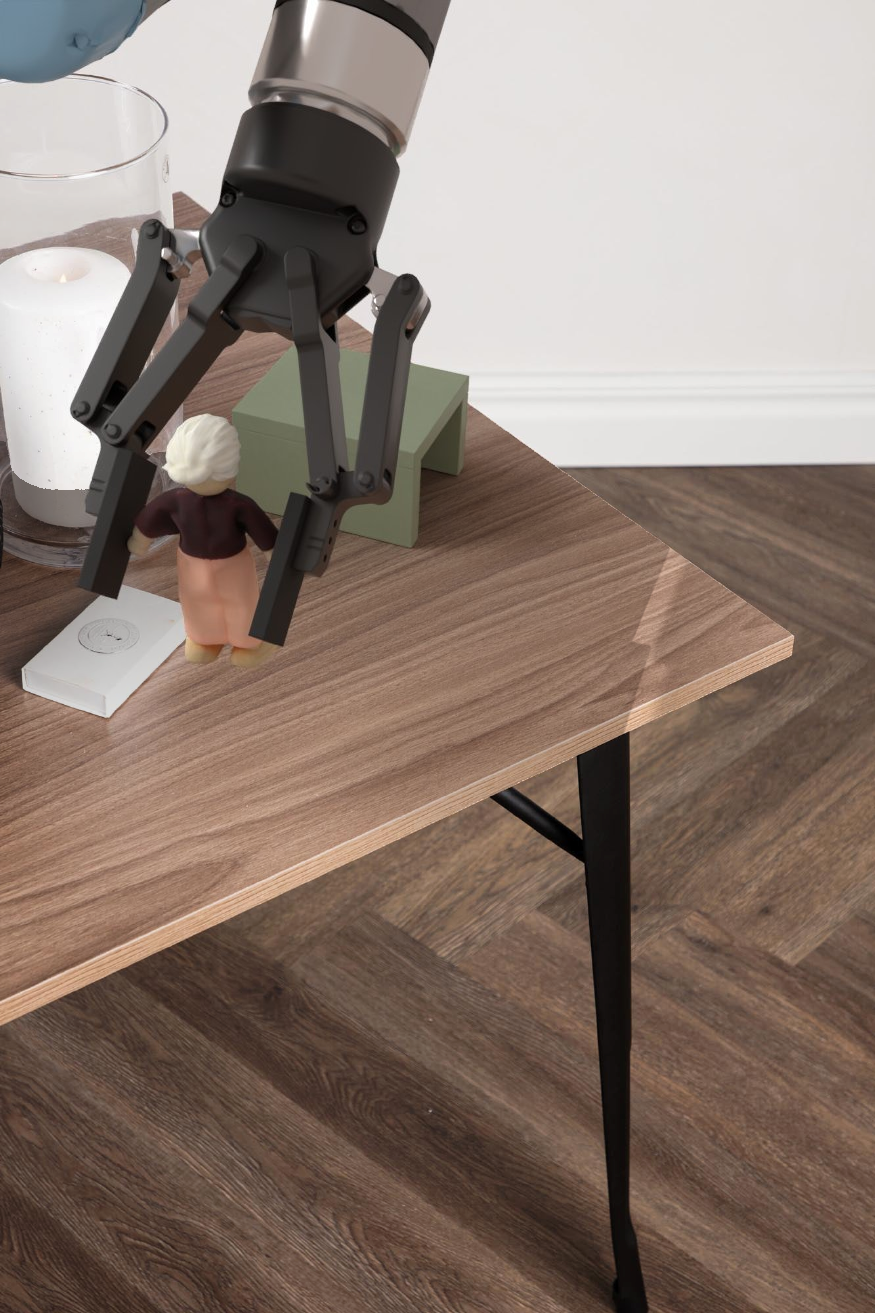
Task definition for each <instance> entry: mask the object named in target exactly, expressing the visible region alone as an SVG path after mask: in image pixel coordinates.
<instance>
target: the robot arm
mask: <svg viewBox="0 0 875 1313" xmlns="http://www.w3.org/2000/svg"><path fill="white" fill-rule="evenodd" d="M170 1H171V0H0V79H3V80H7V81H10V82H15V83H18V84H19V83H20V84H46V83H50V82H54V81H58V80H61V79H64V78H67V77H69V76H70V75H72V74H74V73H76V72H78V71H80V70H81V69H83V68H85V67H87V66H89V65H91V64H93V63H95V62H98V61H100V60H102V59H103V58H105V57H106V56H109V55H111V54H113V53H115V52H116V51H117V50H118V49H119V48H120V47H121V45H122V44H124V43H125V41H126V40H127V39H129V38H131V37H132V36H133V35H134V33H135V32H136V31H137V29H138V27H139V26H141V25H142V24H143V23H144V22H145V21H147V19H149V18H150V17H151V16H152V15H153V14H154V13H155V12H156V11H157V10H158V9H160V8H161V7H163V6H164V5H166V4H168V3H169V2H170ZM451 2H452V0H276V1H275V4H274V6H273V11H272V14H271V19H270V23H269V26H268V29H267V32H266V35H265V38H264V42H263V45H262V47H261V51H260V54H259V57H258V60H257V63H256V66H255V69H254V72H253V75H252V79H251V82H250V85H249V88H248V91H247V99H248V102H249V103H250V106H251V107H250V108H248V109H246V110H245V111H244V112H243V113H242V115H241V116H240V119H239V123H238V126H237V129H236V133H235V135H234V139H233V142H232V146H231V149H230V153H229V156H228V159H227V163H226V165H225V169H224V172H223V175H222V180H221V188H220V193H219V198H218V199H219V200H218V203H217V205H216V207H215V208H214V210H213V211H212V212H211V214H210V215H209V216H208V217H207V218H206V219H205V221H204V222H203V223H202V224H201V226H200V228H169V227H167V226H166V225H165V224H164V223H163V221H161V220H159V219H157V218H149V219H147V220H145V221H144V222H143V223H142V224H141V226H140V228H139V231H138V232H139V233H138V240H137V248H136V249H137V250H136V256H135V266H134V268H133V271H132V273H131V275H130V277H129V279H128V281H127V284H126V285H125V288H124V290H123V292H122V294H121V296H120V299H119V301H118V303H117V305H116V306H115V309H114V312H113V313H112V316H111V317H110V320H109V322H108V324H107V326H106V329H105V331H104V333H103V335H102V337H101V338H100V341H99V343H98V346H97V348H96V350H95V351H94V353H93V356H92V359H91V360H90V363H89V364H88V367H87V369H86V371H85V373H84V375H83V378H82V379H81V382H80V384H79V387H78V388H77V389H76V393H75V394H74V397H73V398H72V401H71V403H70V407H69V412H70V416H71V417H72V419H74V420H75V421H77V422H78V423H79V424H81V425H83V426H84V427H85V428H86V429H88V430H89V431H90V432H92V433H93V434H94V435H95V436H96V437H97V438H98V440H99V444H100V449H99V454H98V457H97V460H96V463H95V466H94V469H93V472H92V476H91V480H90V483H89V486H88V489H87V492H86V496H85V499H84V504H85V505H84V506H85V513H86V514H88V515H91V516H93V517H95V518H96V520H95V524H94V527H93V530H92V533H91V537H90V540H89V543H88V546H87V550H86V554H85V557H84V561H83V563H82V566H81V570H80V574H79V577H78V580H77V582H76V588H79V589H80V590H81V589H82V590H83V591H87V592H90V593H93V594H96V595H99V596H102V597H105V598H108V599H113V600H116V601H118V598H119V595H120V591H121V589H122V585H123V582H124V579H125V575H126V572H127V569H128V565H129V562H130V558H131V555H132V553H131V552H130V551H129V550H128V547H127V542H128V540H129V538H130V537H131V536H132V535H133V529H134V527H135V523H134V517H135V516H136V515H137V514H138V513H139V512H140V511H141V510H142V509H143V508H144V507H145V506H146V505H147V504H148V503H147V502H148V499H149V496H150V492H151V490H152V486H153V482H154V479H155V476H156V473H157V469H158V465H157V464H156V463H154V462H152V461H151V460H149V459H150V458H151V457H152V456H151V455H150V454H149V453H148V452H147V450H148V448H150V446H151V445H152V443H153V442H154V441H155V440H156V438H157V437H158V436H159V434H160V433H161V432H162V431H163V430H164V428H165V426H167V424H168V423H169V421H170V420H171V419H172V418H173V417H174V415H175V414H176V412H177V411H178V410H179V408H180V407H181V406H182V405H183V403H184V402H185V400H187V398H188V397H189V395H190V394H191V393H192V391H193V390H194V389H195V388H196V386H197V385H198V384H199V382H200V381H201V380H202V378H203V377H204V376H205V375H206V373H207V372H208V371H209V370H210V368H211V367H212V366H213V364H214V363H215V362H216V360H217V359H218V358H219V356H220V355H221V354H222V353H223V351H224V350H225V349H226V348H228V347H232V346H233V345H235V343H237V341H238V340H239V339H240V338H241V337H242V335H243V334H244V332H245V331H247V332H252V333H255V334H265V333H267V334H268V333H275V334H277V335H278V336H280V337H282V338H284V339H285V340H288V341H290V342H293V344H294V343H295V346H296V349H297V353H298V363H299V374H300V384H301V394H302V405H303V415H304V425H305V436H306V446H307V456H308V467H309V477H310V484H309V483H308V482H307V483H306V487H307V489H308V490H309V491H310V492H311V493H312V494H311V497H310V498H309V497H308V496H306V495H302V494H298V493H294V492H290V495H289V498H288V502H287V505H286V509H285V512H284V515H283V516H282V519H281V522H280V525H279V529H278V530H279V532H278V536H277V539H276V542H275V546H274V549H273V552H272V556H271V559H270V563H269V562H268V566H267V570H266V573H265V576H264V579H263V580H264V581H263V584H262V586H261V590H260V593H259V600H258V603H257V607H256V610H255V613H254V617H253V620H252V623H251V627H250V630H249V634H248V636H251V637H254V638H256V639H259V640H262V641H265V642H267V643H271V644H274V645H278V646H277V647H281V648H284V646H285V642H286V639H287V636H288V634H289V633H288V632H289V629H290V626H291V622H292V619H293V616H294V612H295V609H296V605H297V602H298V598H299V596H300V592H301V589H302V584H303V582H304V579H305V576H310V577H315V578H319V579H321V578H322V576H323V575H324V574H325V572H326V571H327V570H328V569H329V568H328V567H329V564H330V561H331V557H332V555H333V551H334V546H335V544H336V540H337V537H338V534H339V531H340V530H339V527H340V524H341V520H342V518H343V515H344V514H345V512H346V511H347V510H348V509H349V508H351V507H353V506H356V505H364V504H375V505H384V504H386V503H388V502H389V500H390V499H391V498H392V495H393V489H394V482H395V474H396V467H397V459H398V452H399V445H400V437H401V430H402V422H403V415H404V407H405V400H406V392H407V385H408V378H409V370H410V363H412V362H411V361H412V355H413V347H414V344H415V341H416V339H417V337H418V335H419V333H420V331H421V330H422V327H423V326H424V324H425V321H426V319H427V318H428V316H429V314H430V312H431V309H432V301H431V299H430V297H429V296H428V294H427V292H426V290H425V289H424V286H423V285H422V284H421V282H420V280H419V279H418V277H417V276H415V275H414V274H413V273H409V272H407V273H402V274H400V275H396V274H394V273H391V272H389V271H387V270H384V269H382V268H380V266H379V262H378V254H377V252H378V250H377V248H378V245H379V242H380V240H381V238H382V235H383V232H384V230H385V229H384V228H385V226H386V221H387V218H388V215H389V212H390V208H391V205H392V202H393V198H394V195H395V191H396V188H397V186H398V181H399V179H400V178H399V177H400V174H401V168H400V165H399V163H398V160H397V159H399V158H401V157H402V156H403V155H404V154H405V153H406V152H407V149H408V145H409V142H410V139H411V138H410V137H411V135H412V132H413V128H414V126H415V121H416V118H417V115H418V113H419V112H418V111H419V108H420V105H421V102H422V98H423V95H424V92H425V88H426V85H427V82H428V78H429V75H430V72H431V68H432V64H433V60H434V57H435V53H436V49H437V46H438V43H439V40H440V37H441V34H442V31H443V27H444V24H445V21H446V18H447V15H448V11H449V8H450V6H451ZM200 259H202V261H203V263H204V264H203V265H204V266H205V270H206V273H207V275H208V277H207V279H206V281H205V282H204V283H203V284H202V286H200V288H199V290H198V291H197V292H196V294H194V296H193V297H192V299H191V300H190V301H189V303H188V306H187V313H186V315H185V317H184V318H183V320H182V321H181V322H180V324H179V325H178V326H177V328H176V329H175V331H173V333H172V334H171V335H170V337H169V338H168V340H167V341H166V342H165V343H164V345H163V346H162V348H161V349H160V350H159V351H158V352H157V354H156V355H155V357H154V358H153V359H152V360H151V362H150V363H148V360H149V358H150V355H151V354H152V351H153V349H154V347H155V345H156V342H157V340H158V338H159V336H160V334H161V333H162V329H163V328H164V325H165V323H166V321H167V319H168V317H169V315H170V313H171V311H172V308H173V306H174V304H175V302H176V299H177V296H178V293H179V289H180V286H181V280H183V279H188V278H189V277H191V275H192V269H193V266H194V264H195V263H196V262H197V261H198V260H200ZM369 295H372V299H371V304H370V310H371V313H372V315H373V316H374V318H375V323H374V327H373V331H372V337H371V344H370V351H369V354H370V358H369V366H368V373H367V380H366V387H365V395H364V402H363V409H362V417H361V424H360V431H359V439H358V446H357V453H356V461H355V468H354V471H349V463H348V453H347V443H346V433H345V423H344V413H343V404H342V394H341V384H340V374H339V361H340V348H341V347H340V338H339V331H338V330H339V328H338V321H339V320H340V319H342V318H343V317H344V316H345V315H346V314H348V313H349V312H350V311H352V309H353V308H354V307H356V306H357V305H358V304H360V303H361V302H362V301H363V300H364V299H365V298H366V297H367V296H369ZM147 363H148V365H147V367H146V368H145V366H146V364H147ZM144 368H145V369H144ZM143 370H144V371H143Z"/></svg>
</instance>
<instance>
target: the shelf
mask: <svg viewBox="0 0 875 1313" xmlns="http://www.w3.org/2000/svg"><path fill="white" fill-rule="evenodd" d="M369 358H370V353H366V352H363V351H357V350H353V349H348V348H344V347H340V361H339V374H340V384H341V394H342V404H343V413H344V423H345V433H346V443H347V453H348V463H349V471H354V468H355V461H356V453H357V446H358V439H359V431H360V424H361V417H362V409H363V402H364V395H365V387H366V380H367V373H368V366H369ZM469 388H470V375H467V374H462V373H458V372H455V371H454V372H453V371H448V370H445V369H441V368H435V367H431V366H426V365H421V364H417V363H414V362H413V363H412V362H411V363H410V370H409V378H408V385H407V392H406V400H405V407H404V415H403V422H402V430H401V437H400V445H399V452H398V459H397V467H396V474H395V482H394V489H393V495H392V498H391V499H390V500H389V502H388V503H386V504H384V505H375V504H364V505H356V506H353V507H351V508H349V509H348V510H347V511H346V512H345V514H344V515H343V518H342V520H341V524H340V527H339V531H341V532H345V533H348V534H353V535H357V536H360V537H364V538H369V539H373V540H377V541H380V542H384V543H388V544H392V545H396V546H401V547H404V548H408V549H412V548H413V546H414V545H415V544H416V542H417V540H418V539H419V522H420V521H419V520H420V519H419V518H420V496H421V474H422V473H421V471H422V468H423V469H425V470H431V471H435V472H439V473H444V474H447V475H452V476H458V477H459V475H460V474H461V472H462V470H463V469H464V465H465V464H464V463H465V451H466V449H465V448H466V434H467V420H468V419H467V418H468V403H469V390H470V389H469ZM231 425H232V426H234V427H235V428H236V431H237V432H238V440H239V443H240V444H241V448H240V456H241V458H240V460H239V461H238V473H237V475H236V476H235V491H237V492H240V493H242V494H244V495H247V496H249V497H250V498H252V499H253V500H254V501H255V502H256V503H257V504H258V505H259V507H260V508H261V509H262V510H263V511H264V512H265V513H268V514H273V515H276V516H281V517H283V515H284V512H285V509H286V505H287V502H288V498H289V495H290V492H294V493H298V494H302V495H306V496H308V497H309V498H310V497H311V494H312V493H311V492H310V491H309V490H308V489H307V487H306V483H307V482H308V483H309V484H310V477H309V467H308V456H307V446H306V436H305V425H304V415H303V405H302V394H301V384H300V374H299V363H298V353H297V349H296V346H295V343H294V342H293V344H292V345H291V346H290V347H289V348H288V349H287V351H286V352H284V353H283V354H282V356H280V358H279V359H277V361H276V362H275V363H274V364H273V365H272V366H271V367H270V369H269V370H268V371H267V372H266V373H265V374H264V375H262V377H261V378H260V379H259V380H258V381H257V383H255V385H254V386H253V387H252V388H251V389H250V390H249V391H248V392H247V393H246V394H245V395H244V396H243V397H242V399H240V400H239V402H237V404H236V405H235V406H234V407H233V408H232V409H231Z"/></svg>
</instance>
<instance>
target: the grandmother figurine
mask: <svg viewBox="0 0 875 1313" xmlns="http://www.w3.org/2000/svg"><path fill="white" fill-rule="evenodd" d="M240 448H241V444H240V443H239V440H238V432H237V431H236V428H235V427H234V426H233V425H232V424H231V423H230V422H229V419H227V418H226V417H223V416H217V415H214V414H211V413H208V412H207V413H204V414H198V415H195V416H192V417H189V418H187V419H185V421H184V422H183V423H181V424H180V425H179V426H178V427H177V428H176V431H175V432H174V434H173V436H172V437H171V439H170V440H169V442H168V444H167V447H166V453H165V461H166V463H165V464H164V465H163V466H161V469H163V470H164V471H166V472H167V474H168V476H169V478H170V480H172V481H173V482H175V483H177V484H179V485H184V486H186V487H176V488H173V489H169V490H166V491H163V492H162V493H161V494H159V495H157V496H155V497H154V498H152V499H151V501H149V502H148V503H146V506H145V507H144V508H143V509H142V510H141V511H140V512H139V513H138V514H137V515H136V516H135V517H134V523H135V527H134V529H133V535H132V536H131V537H130V538H129V540H128V542H127V547H128V550H129V551H130V552H131V555H134V556H137V557H141V556H144V555H147V554H148V553H149V551H150V549H151V543H153V542H154V541H155V539H157V538H162V537H167V536H176V535H179V540H178V543H177V546H176V574H177V590H178V591H177V592H178V598H179V603H180V607H181V608H180V609H181V612H182V618H183V625H184V630H185V634H186V637H185V646H184V647H185V649H184V656H185V659H186V660H187V661H188V662H189V663H193V664H199V665H200V664H202V665H207V664H210V663H213V662H215V661H216V660H218V658H219V656H220V654H221V652H222V650H223V648H224V647H225V645H228V644H230V645H232V646H233V648H232V649H231V652H230V654H229V660H230V663H231V664H232V665H234V666H235V667H239V668H242V669H248V670H249V669H254V668H257V667H259V666H260V665H261V664H262V663H263V662H264V661H266V660H267V659H268V658H269V657H270V656H271V655H272V654H273V653H274V652H275V651H276V650H277V649H278V647H279V646H278V645H274V644H271V643H267V642H265V641H262V640H259V639H256V638H254V637H251V636H248V634H249V630H250V627H251V623H252V620H253V617H254V613H255V610H256V607H257V603H258V600H259V596H260V593H259V592H260V591H259V583H258V576H257V575H258V574H257V569H256V563H255V558H254V555H253V553H252V550H251V548H250V544H249V542H248V539H247V535H248V536H249V538H250V539H251V540H252V541H253V543H254V544H255V546H256V547H257V548H258V549H259V550H260V551H261V552H262V554H263V555H264V557H265V559H266V561H267V562H268V564H269V563H270V559H271V556H272V552H273V549H274V546H275V542H276V539H277V536H278V532H279V529H278V528H277V527H276V525H275V523H273V521H272V520H271V518H270V517H269V516H268V514H267V512H265V511H263V510H262V509H261V508H260V507H259V505H258V504H257V503H256V502H255V501H254V500H253V499H252V498H250V497H249V496H247V495H244V494H242V493H240V492H237V491H236V490H234V489H231V488H229V487H230V486H231V485H232V484H233V482H234V480H236V477H235V476H236V475H237V473H238V461H239V460H240V458H241V456H240ZM246 534H247V535H246Z"/></svg>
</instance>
